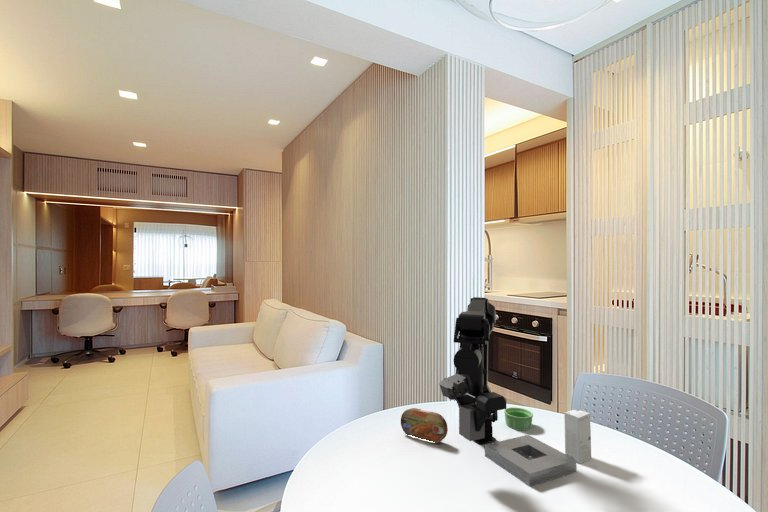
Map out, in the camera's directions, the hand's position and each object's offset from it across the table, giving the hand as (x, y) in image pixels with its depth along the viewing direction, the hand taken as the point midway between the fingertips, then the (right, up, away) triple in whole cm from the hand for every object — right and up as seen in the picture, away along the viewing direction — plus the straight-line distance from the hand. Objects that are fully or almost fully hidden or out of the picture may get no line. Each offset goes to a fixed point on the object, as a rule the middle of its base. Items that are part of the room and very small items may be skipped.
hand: (471, 427), depth 93 cm
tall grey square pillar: (0, -2, 0) cm, 2 cm away
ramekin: (+23, -14, +31) cm, 41 cm away
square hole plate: (+17, -12, +6) cm, 22 cm away
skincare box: (+32, -13, +10) cm, 35 cm away
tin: (-10, -13, +20) cm, 26 cm away
